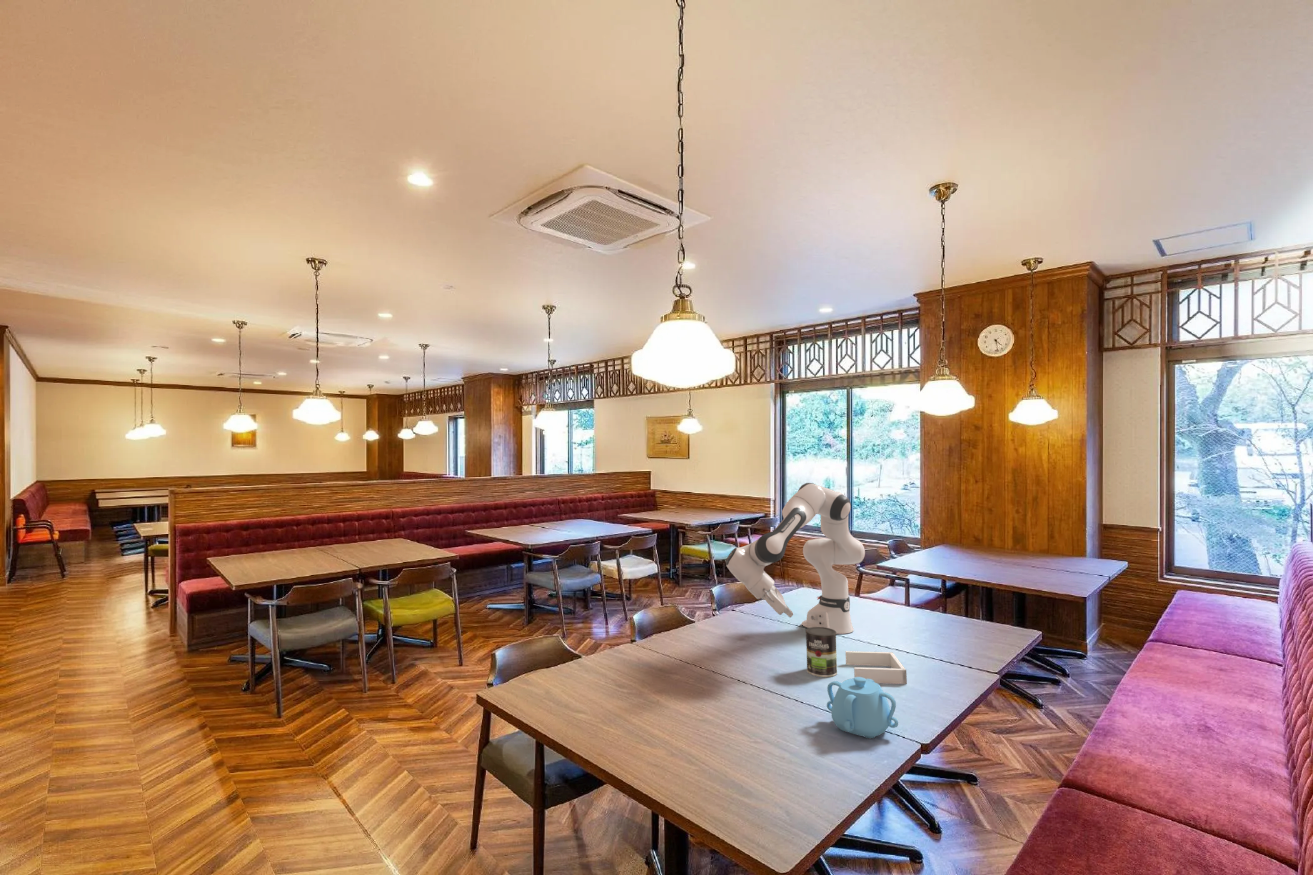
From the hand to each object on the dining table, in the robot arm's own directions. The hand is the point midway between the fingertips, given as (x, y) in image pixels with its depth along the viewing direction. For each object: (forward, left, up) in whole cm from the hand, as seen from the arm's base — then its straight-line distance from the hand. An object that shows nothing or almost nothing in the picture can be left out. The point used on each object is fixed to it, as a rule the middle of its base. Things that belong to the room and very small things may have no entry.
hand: (791, 615), depth 201 cm
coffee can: (+7, +7, -19) cm, 22 cm away
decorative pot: (+40, -19, -19) cm, 49 cm away
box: (+19, +19, -19) cm, 33 cm away
